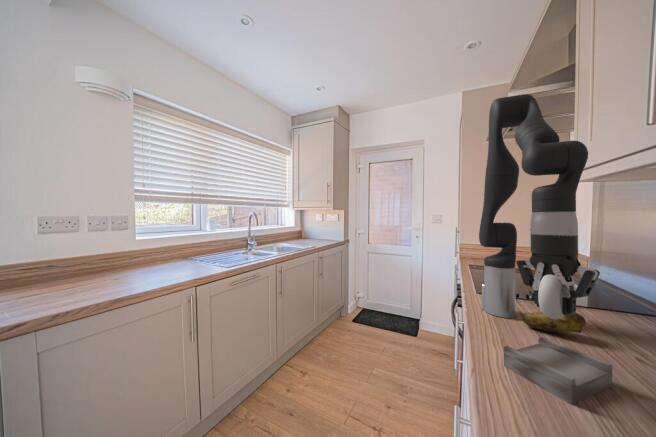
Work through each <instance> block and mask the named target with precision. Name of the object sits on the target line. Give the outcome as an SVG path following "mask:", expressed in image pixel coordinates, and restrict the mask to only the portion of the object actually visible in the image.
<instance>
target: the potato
mask: <svg viewBox="0 0 656 437" xmlns="http://www.w3.org/2000/svg"><path fill="white" fill-rule="evenodd" d="M523 322H524V323H525V324H526V326H528V327H530V328H532V329H536V330H540V331H545V332H549V333H556V334H557V333H559V334H561V333H562V334H563V333H577V334H581V333H582V331H583V329H584V326H585V325H586V319H585V318H584V316H582V315H581V314H580V313H578V312H577V311H576V312H575V313H573V314H572V315H569V316H567V315H564V316H563V318H561V319H550V318H548V317H547V316H545V315H544V314H543V313H542V311H541V312H539V311H538V312H531V313H527V314H525V315H524V318H523Z"/></svg>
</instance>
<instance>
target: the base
mask: <svg viewBox="0 0 656 437" xmlns="http://www.w3.org/2000/svg"><path fill="white" fill-rule="evenodd" d="M503 366H504V367H505V368H507V369H509V370H510V371H511V372H513V373H515V374H517V375H519V376H521V377H522V378H524V379H526V380H527V381H530V382H531V383H533V384H535V385H536V386H539V387H540V388H542V389H544V390H546V391H547V392H549V393H551V394H553V396H556V397H558V398H559V399H560V400H561V399H562V400H563V401H565V402H567V403H569V404H570V405H574V404H577V403H578V402H580V401H583V400H585V399H587V398H590V397H592V396H595V395H597V394H599V393H602V392H603V391H605V390H607V389H610V388H612V387H613V364H612V363H609V362H607V361H604V360H602V359H600V358H596V357H594V356H592V355H589V354H587V353H584V352H581V351H579V350H576V349H574V348H571V347H568V346H566V345H564V344H562V343H558V342H556V341H553V340H551V339H549V338H547V337H543V336H539V337H538V343H536V344H532V345H529V346H524V347H522V348H517V349H515V348H513V347H511V346H509V345H504V346H503Z"/></svg>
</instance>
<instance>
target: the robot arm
mask: <svg viewBox="0 0 656 437" xmlns="http://www.w3.org/2000/svg"><path fill="white" fill-rule="evenodd" d="M488 115H489V116H488V147H487V148H488V149H487V150H488V151H487V159H486V168H485V176H484V177H485V178H484V193H483V196H484V197H483V207H482V211H481V212H482V213H481V219H480V223H479V224H480V225H479V230H478V231H479V232H478V239H479V240H478V241H479V244H480V245H481V246H482V247H484V248H497V249H498V248H499V249H500V248H501V250H500V251H498V253H495V254H492V255H489V256H486V257H484V259H483V265H484V266H483V271H484V272H483V275H484V276H483V277H484V278H483V279H484V283H482V284H481V309H482V310H483V311H484V312H485V313H487V314H489V315H492V316H494V317H495V316H496V317H498V318H499V317H500V318H505V319H507V318H509V319H512V318H516V315H517V314H516V312H517V310H516V302H517V301H516V265H517V268H518V271H519V273H520V276H521V280H522V283H523V284H524V285H525V286H526V287H527V286H528V287H530V288H532V290H533V302H534V304H536V307H537V308H540V306H539V300H538V291H539V285H540V282H541V280H542V278H543V277H544V276H545V275H547V274H552V275H555V276H556V278H557V279H558V281H559V282H560V284H561V286H562V288H561V290H562V293H563V296H564V297H562V313H563V314H564V315H567V316H569V315H572V314H573V313H575V312H576V313H577V299H579V298H584V297H585V298H586V297H589V296H590V294H591V292H592V291H593V288H594V286H595V284H596V283H597V280H598V279H599V277H600V275H601V272H600V271H599V270H598V269H591V268H588V267H585V266H583V265H582V263H581V262H580V261H579V258H578V257H579V222H578V218H577V217H578V216H577V191H578V186H579V183H580V180H581V178H582V174H583V171H584V170H585V167H586V164H587V162H588V158H589V150H588V148H587V146H586V145H585V144H584V143H583V142H581V141H579V140H565V141H560V136H559V135H558V133H557V132H556V131H555V130H554V129H553V127H552V126H550V125H549V124H548V123H547V122H546V121H545V119H544V117H543V113H542V110H541V109H540V106H539V104H538V101H537V100H536V98H535V97H534V95H532V94H530V93H529V94H528V93H527V94H526V93H525V94H524V93H523V94H518V95H511V96H505V97H504V96H503V97H499V98H495V99H494V100H493V101H492V102H491V104H490V107H489V114H488ZM515 127H517V129H516V130H515V133H514V139H515V140H514V141H515V142H516V145H517V146H518V148H519V149H520V150H521V163H520V164H521V170H522V171H523V172H524V173H525V174H527V175H530V176H551V175H552V176H553V175H558V178H557V180H556V181H555V182H553V183H551V184H546V185H541V186H538V187H535V188H534V189H533V190H532V192H531V212H532V213H531V218H530V229H529V230H530V252H531V256H530V257H529V259H520V260H517V245H518V244H517V243H518V242H517V241H518V232H517V228H516V225H514V224H513V223H512V222H494V221H495V217H496V215H497V214H498V212H499V210H500V209H501V208H502V206H503V205H505V203H506V202H507V201H508V200H509V199H510V198H511V197H512V196H513V194H514V193H515V191H516V190H517V188H518V185H519V176H520V165H519V163H518V162H517V160H516V159H515V157H514V156H513V155H512V153H511V152H510V151H509V149H508V148H507V145H506V144H505V141H504V138H503V136H504V135H503V129H508V128H515ZM516 260H517V261H516ZM532 267H533V268H534V270H535V273H534V274H533V271H532ZM577 272H578V273H579V274H578V276H579V277H580V278H581V279H580V281H579V283H578V285H577V287H576V286H575V285H576V282H575V280H574V277H573V276H574V275H575V274H576V273H577Z"/></svg>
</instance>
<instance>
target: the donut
mask: <svg viewBox="0 0 656 437" xmlns="http://www.w3.org/2000/svg"><path fill="white" fill-rule="evenodd" d="M561 288H562V286H561V284H560V282H559V281H558V279H557V278H556V276H555V275H552V274H547V275H545V276H544V277H543V278H542V280H541V282H540V285H539V291H538V300H539V306H540V307H539V309H540V311H541V313H543V314H544V315H545V316H547V317H548V318H550V319H561V318H563V316H564V314H563V313H562V297H564V296H563V293H562V290H561Z"/></svg>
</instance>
